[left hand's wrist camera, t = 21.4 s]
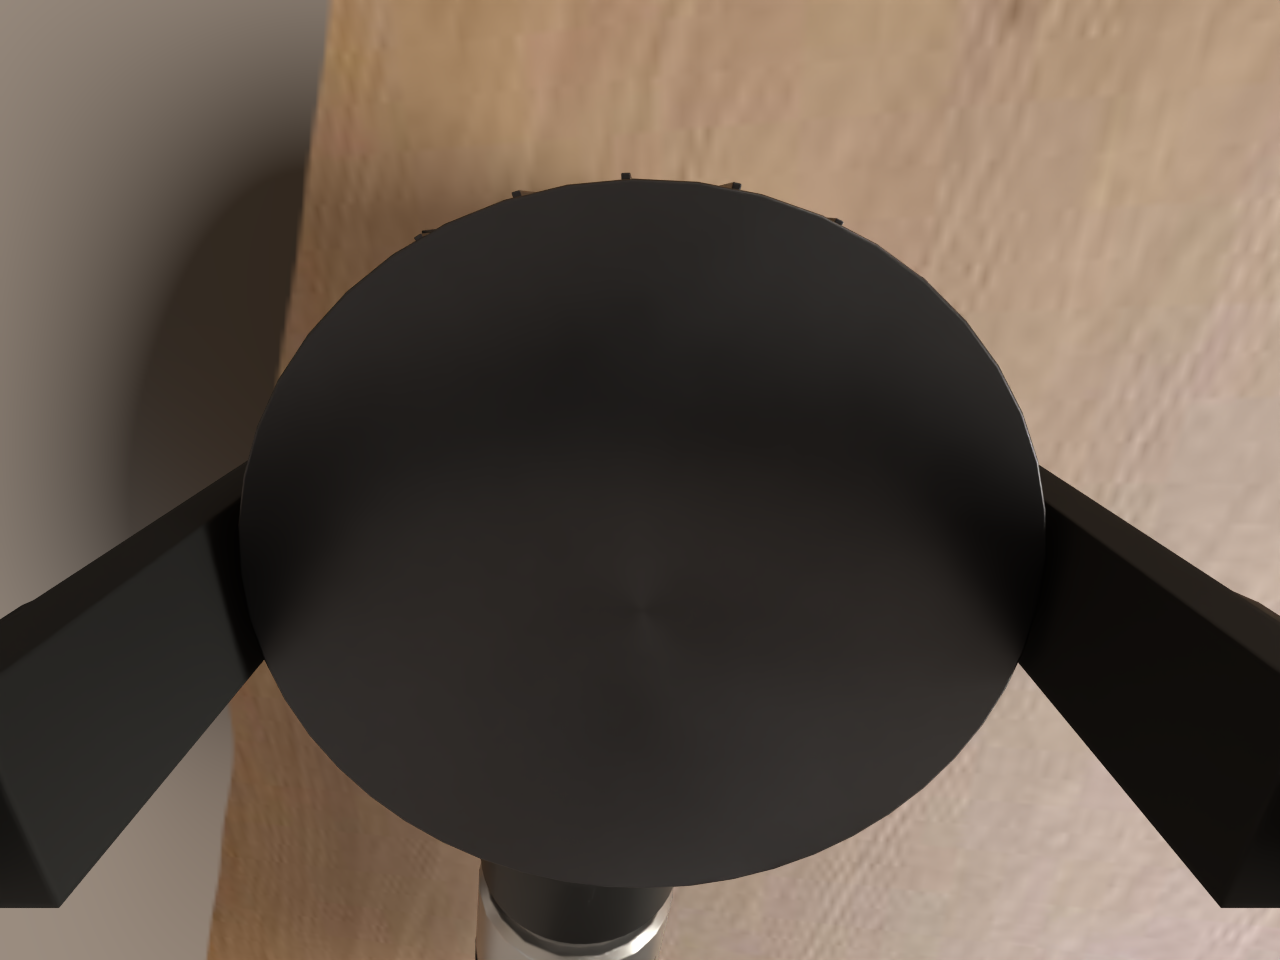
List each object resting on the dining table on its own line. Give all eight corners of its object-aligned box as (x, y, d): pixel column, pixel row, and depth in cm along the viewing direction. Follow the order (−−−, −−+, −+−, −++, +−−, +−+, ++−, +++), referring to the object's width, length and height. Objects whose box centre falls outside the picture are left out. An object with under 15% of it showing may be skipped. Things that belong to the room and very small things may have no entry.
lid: (710, -15, 9) (734, -87, 7) (1088, 579, 13) (1187, 662, 10) (170, 488, 12) (59, 554, 10) (601, 864, 15) (594, 978, 13)
